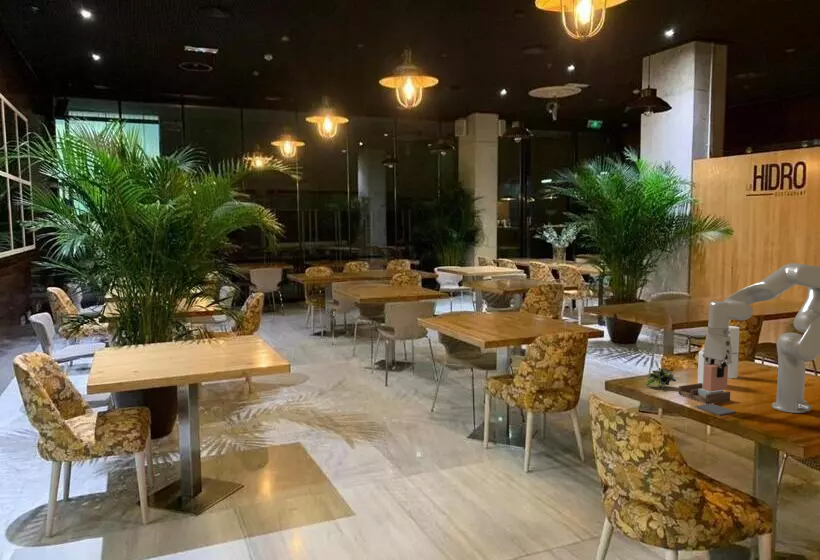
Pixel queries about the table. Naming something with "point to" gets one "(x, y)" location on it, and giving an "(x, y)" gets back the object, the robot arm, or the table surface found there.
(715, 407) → the slate mat
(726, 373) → the pink rectangular block
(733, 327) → the cylindrical container
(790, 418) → the table surface
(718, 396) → the rack
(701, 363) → the milk carton
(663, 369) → the passion flower
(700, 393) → the offcut upper
